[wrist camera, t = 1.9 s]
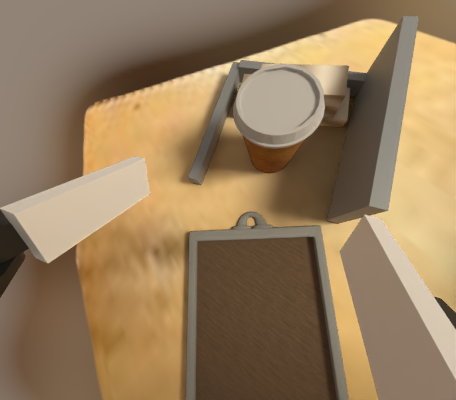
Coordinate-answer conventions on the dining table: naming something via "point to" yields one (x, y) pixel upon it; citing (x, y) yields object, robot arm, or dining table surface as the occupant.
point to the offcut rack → (357, 128)
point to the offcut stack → (329, 91)
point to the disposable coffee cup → (278, 113)
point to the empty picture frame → (261, 315)
